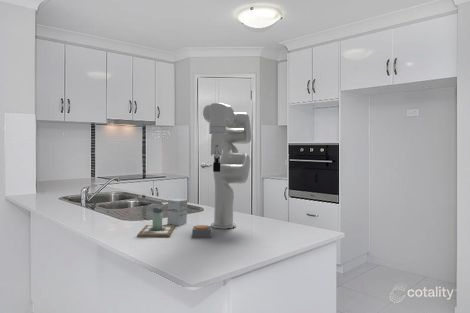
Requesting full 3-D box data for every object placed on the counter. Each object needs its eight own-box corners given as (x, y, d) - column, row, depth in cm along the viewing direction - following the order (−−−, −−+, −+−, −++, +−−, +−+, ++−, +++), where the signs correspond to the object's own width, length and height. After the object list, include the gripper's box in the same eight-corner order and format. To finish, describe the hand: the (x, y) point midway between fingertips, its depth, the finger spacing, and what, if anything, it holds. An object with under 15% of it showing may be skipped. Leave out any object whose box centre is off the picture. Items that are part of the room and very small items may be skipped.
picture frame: (146, 227, 178) (146, 224, 178) (174, 227, 179) (175, 224, 179) (137, 236, 158) (137, 234, 158) (169, 237, 159) (169, 234, 159)
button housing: (193, 233, 167) (193, 225, 167) (210, 233, 168) (211, 226, 167) (192, 237, 159) (192, 229, 159) (210, 237, 160) (210, 230, 160)
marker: (153, 228, 171) (153, 206, 170) (162, 228, 171) (163, 207, 171) (151, 230, 166) (152, 208, 166) (161, 230, 166) (161, 208, 166)
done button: (196, 231, 166) (196, 225, 166) (207, 231, 166) (207, 225, 166) (196, 233, 161) (196, 227, 161) (207, 234, 161) (207, 227, 161)
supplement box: (166, 224, 186) (167, 199, 186) (175, 221, 193) (176, 198, 192) (178, 225, 183) (179, 201, 182) (187, 223, 189) (187, 199, 189)
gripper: (209, 131, 170) (208, 170, 170) (208, 129, 155) (207, 172, 155) (225, 131, 170) (224, 170, 171) (226, 130, 155) (225, 172, 156)
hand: (216, 171), depth 163 cm, fingers closed
